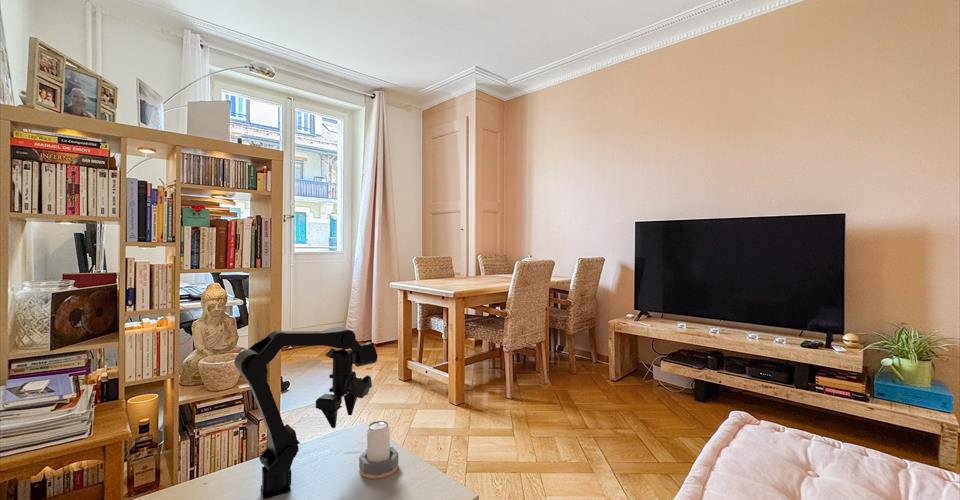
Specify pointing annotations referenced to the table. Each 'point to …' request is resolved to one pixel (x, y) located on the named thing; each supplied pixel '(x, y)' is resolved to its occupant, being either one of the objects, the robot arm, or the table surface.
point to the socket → (378, 466)
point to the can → (378, 442)
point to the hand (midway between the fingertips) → (342, 421)
